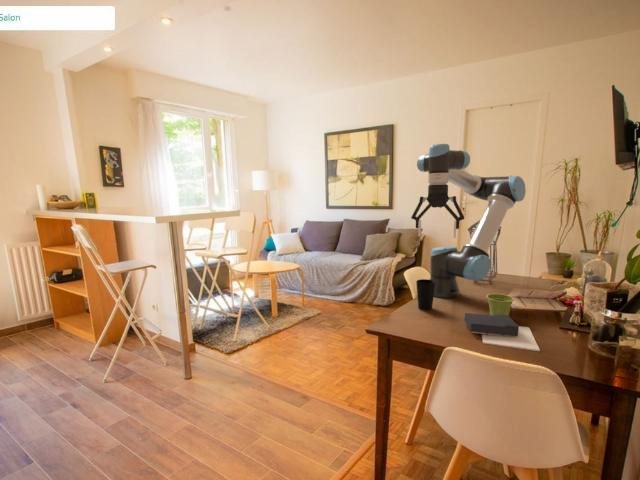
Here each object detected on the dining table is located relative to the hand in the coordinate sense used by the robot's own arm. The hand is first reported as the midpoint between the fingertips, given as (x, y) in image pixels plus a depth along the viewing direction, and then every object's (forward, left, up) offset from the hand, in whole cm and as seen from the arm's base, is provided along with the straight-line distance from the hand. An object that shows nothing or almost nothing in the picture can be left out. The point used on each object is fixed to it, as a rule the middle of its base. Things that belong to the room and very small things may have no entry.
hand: (436, 236), depth 134 cm
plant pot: (+1, +24, -32) cm, 40 cm away
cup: (-1, -4, -32) cm, 32 cm away
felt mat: (+17, +25, -32) cm, 44 cm away
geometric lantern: (-52, +21, -32) cm, 65 cm away
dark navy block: (+16, +12, -29) cm, 35 cm away
